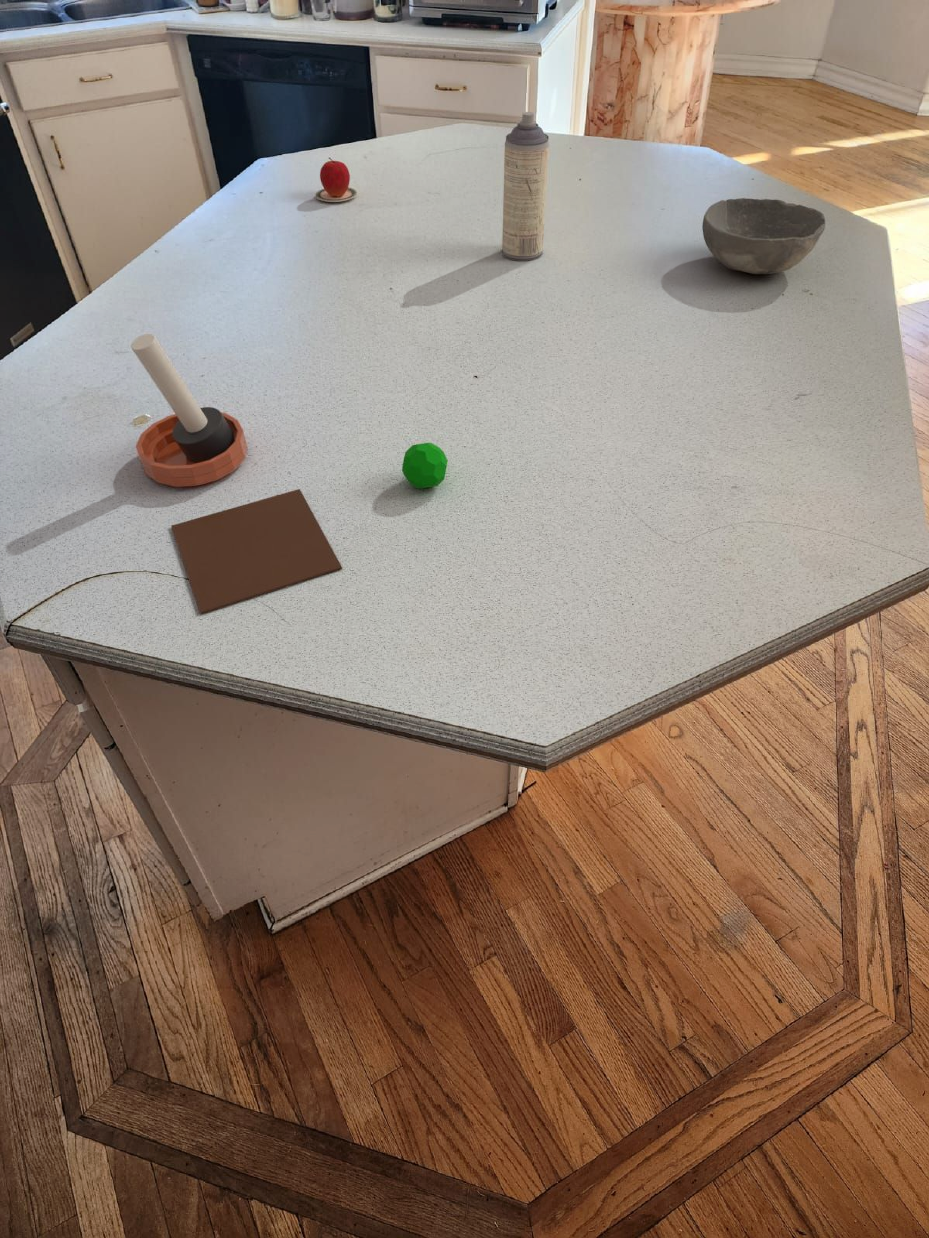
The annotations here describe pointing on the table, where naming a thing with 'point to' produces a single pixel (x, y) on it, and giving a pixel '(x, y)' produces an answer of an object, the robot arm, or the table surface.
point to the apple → (335, 182)
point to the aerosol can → (524, 190)
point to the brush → (184, 405)
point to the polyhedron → (424, 465)
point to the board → (253, 550)
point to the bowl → (761, 234)
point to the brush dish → (172, 464)
